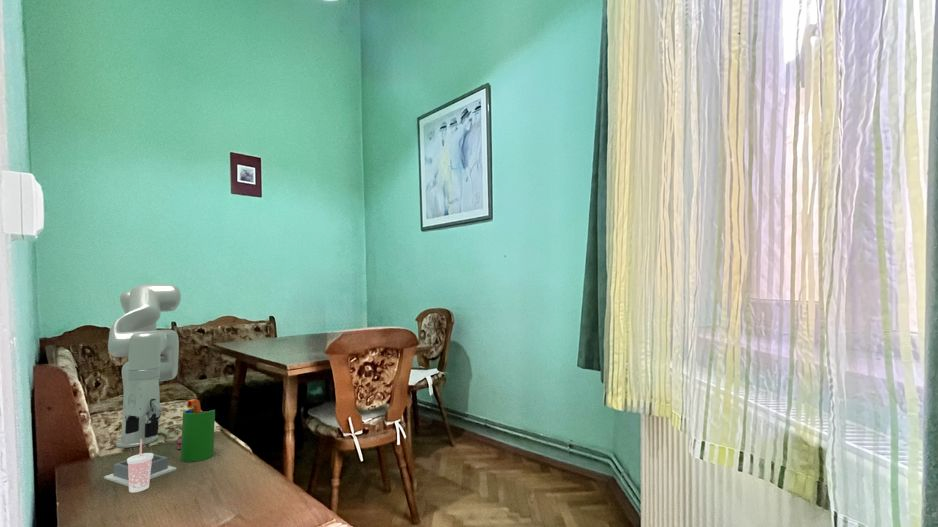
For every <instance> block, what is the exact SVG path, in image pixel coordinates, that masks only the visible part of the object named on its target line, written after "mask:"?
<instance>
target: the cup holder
mask: <svg viewBox="0 0 938 527" xmlns="http://www.w3.org/2000/svg"><path fill="white" fill-rule="evenodd" d="M153 454H154V455H153V458H152V464H151V473H150V480H152V479H155V478H158V477H160V476H162V475H165V474H168V473H171V472H174V471H176V470H177V467H175V466H172V465H169V457H167V456H164V455H160V454H156V453H153ZM103 479H104V480H107V481H111V482H114V483H116V484H119V485H122V486H125V487H128V488H129V476H128V463H127V459H126V460H123V461H121V462H120V461H119V462H117V463H114V464H113V473H110V474H108V475H104V476H103Z"/></svg>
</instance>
